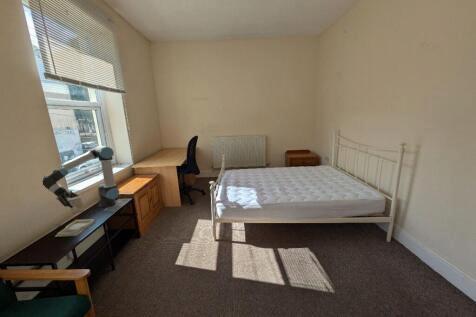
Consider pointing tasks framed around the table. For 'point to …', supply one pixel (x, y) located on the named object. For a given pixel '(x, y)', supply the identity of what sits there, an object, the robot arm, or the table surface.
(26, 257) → the table surface
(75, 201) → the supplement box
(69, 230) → the keyhole tray
